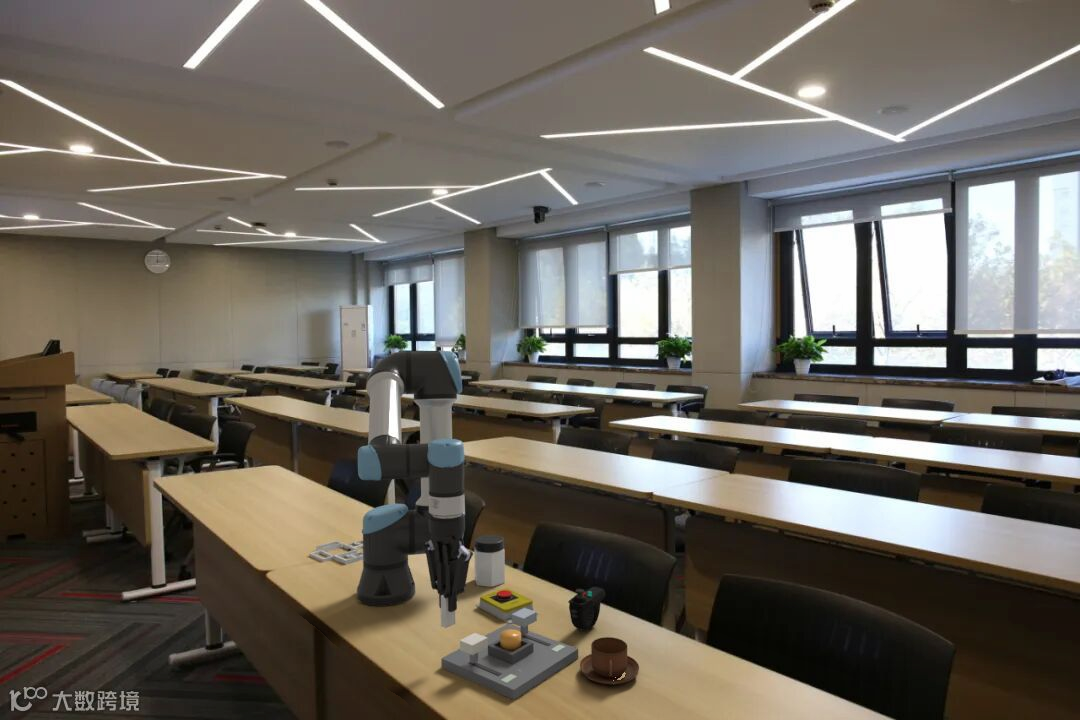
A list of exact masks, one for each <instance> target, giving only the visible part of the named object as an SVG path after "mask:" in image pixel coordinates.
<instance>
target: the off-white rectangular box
mask: <svg viewBox="0 0 1080 720" xmlns="http://www.w3.org/2000/svg"><path fill="white" fill-rule="evenodd" d="M487 647H488V638H487V637H485V635H482V634H479V633H478V632H473V633H472V634H469V635H468V636H465V637H464V638H461V639H459V649H460V650H461V651H464V652H466V653H468V654H470V662H472V663H476V662H478V652H479V651H481V650H483V649H485V648H487Z"/></svg>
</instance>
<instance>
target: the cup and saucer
mask: <svg viewBox="0 0 1080 720" xmlns="http://www.w3.org/2000/svg"><path fill="white" fill-rule="evenodd" d="M590 646H591V649H590V650H591V652H590V653H591V654H588V655H585V657H583V658H582V659H581V660H580V661H579V668H580V671H581V673H582V674H583V675H584V676H585V678H587V679H589V680H590V681H592V682H595V683H598V684H602V685H621V684H625V683H628V682H630V681H631V680H633V679H634V678H635V677H636V676H637V675H638V674H639V671H640V665H639V663H638V662H637V661H636V660H635V658H633V657H631V656H629V655H628V644H627V642H625V641H624V640H622V639H619V638H617V637H611V636H609V637H605V636H604V637H600V638H596V639H594V640H593V641H592V642H591V645H590ZM624 672H625V673H626V674H625V677H624V678H622V679H621V680H617V679H618V678H620V677H621V676H622V674H623V673H624ZM615 677H616V678H615ZM613 680H614V681H613Z"/></svg>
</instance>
